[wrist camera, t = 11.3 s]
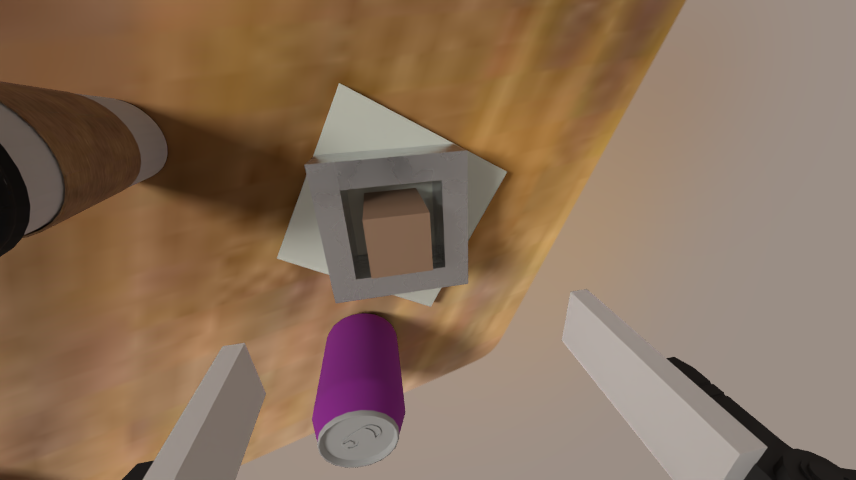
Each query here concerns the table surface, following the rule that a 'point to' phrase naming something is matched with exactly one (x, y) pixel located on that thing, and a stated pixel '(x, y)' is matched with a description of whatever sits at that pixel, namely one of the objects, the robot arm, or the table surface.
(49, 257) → the table surface
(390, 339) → the beverage can
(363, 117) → the post board
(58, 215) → the coffee cup
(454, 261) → the square frame
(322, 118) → the table surface
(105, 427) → the table surface
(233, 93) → the table surface
